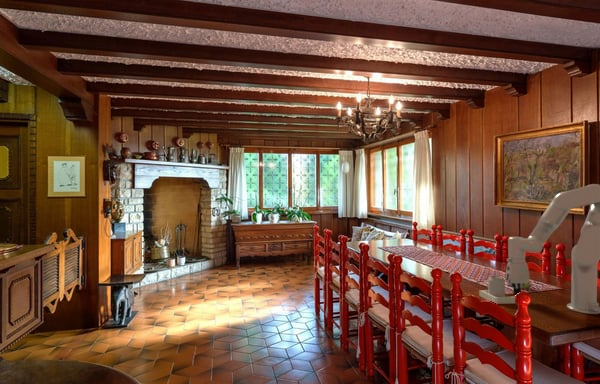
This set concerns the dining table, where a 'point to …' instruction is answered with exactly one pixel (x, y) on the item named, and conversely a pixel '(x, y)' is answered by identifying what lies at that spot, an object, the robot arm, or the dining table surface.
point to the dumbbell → (526, 285)
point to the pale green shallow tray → (496, 298)
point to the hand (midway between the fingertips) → (517, 295)
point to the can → (496, 286)
